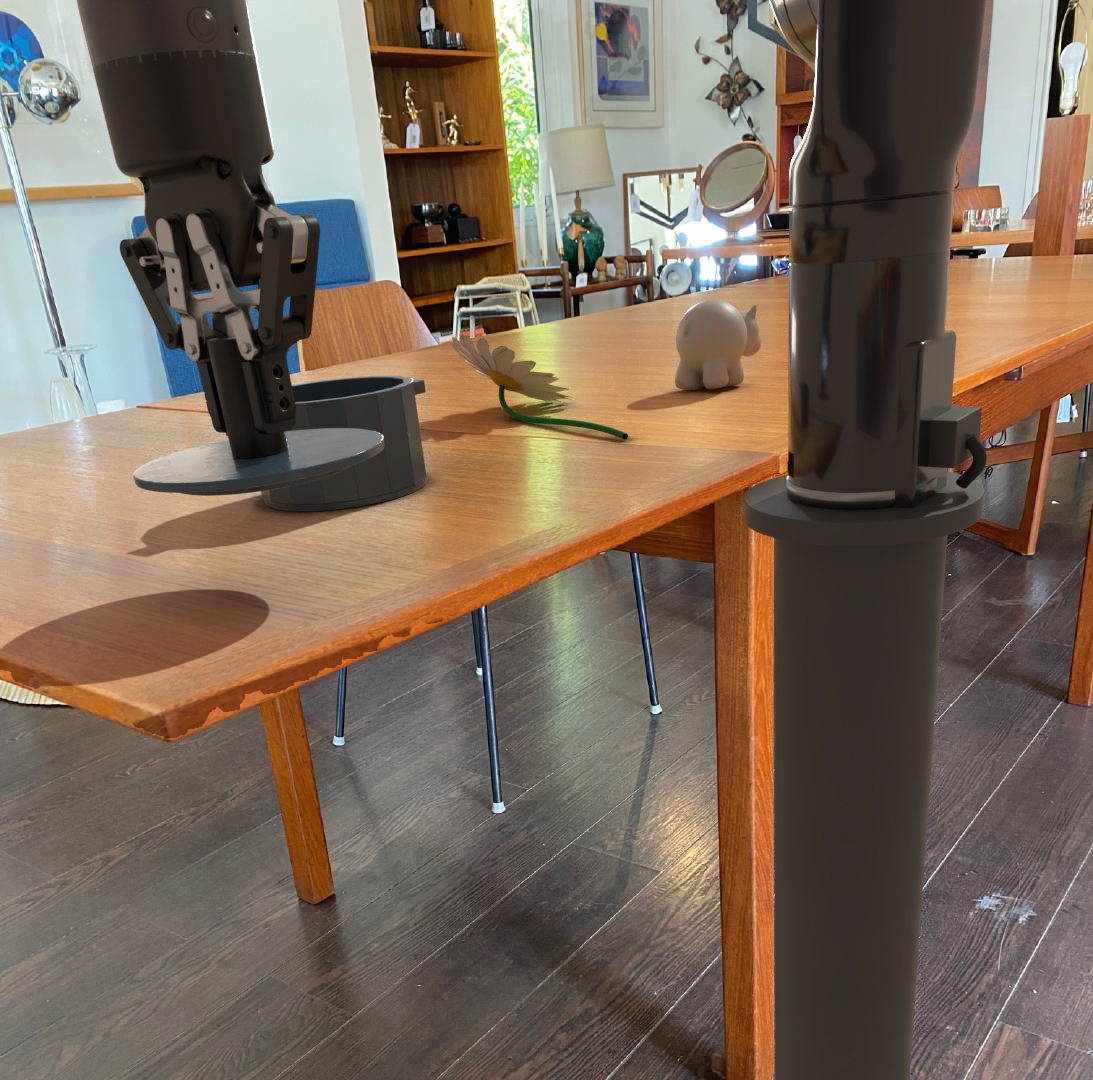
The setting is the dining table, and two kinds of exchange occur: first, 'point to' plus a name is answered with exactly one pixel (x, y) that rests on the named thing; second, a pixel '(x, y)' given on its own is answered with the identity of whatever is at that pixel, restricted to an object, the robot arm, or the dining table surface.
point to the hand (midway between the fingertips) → (255, 429)
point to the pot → (360, 407)
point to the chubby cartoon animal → (715, 344)
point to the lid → (253, 446)
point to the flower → (520, 381)
